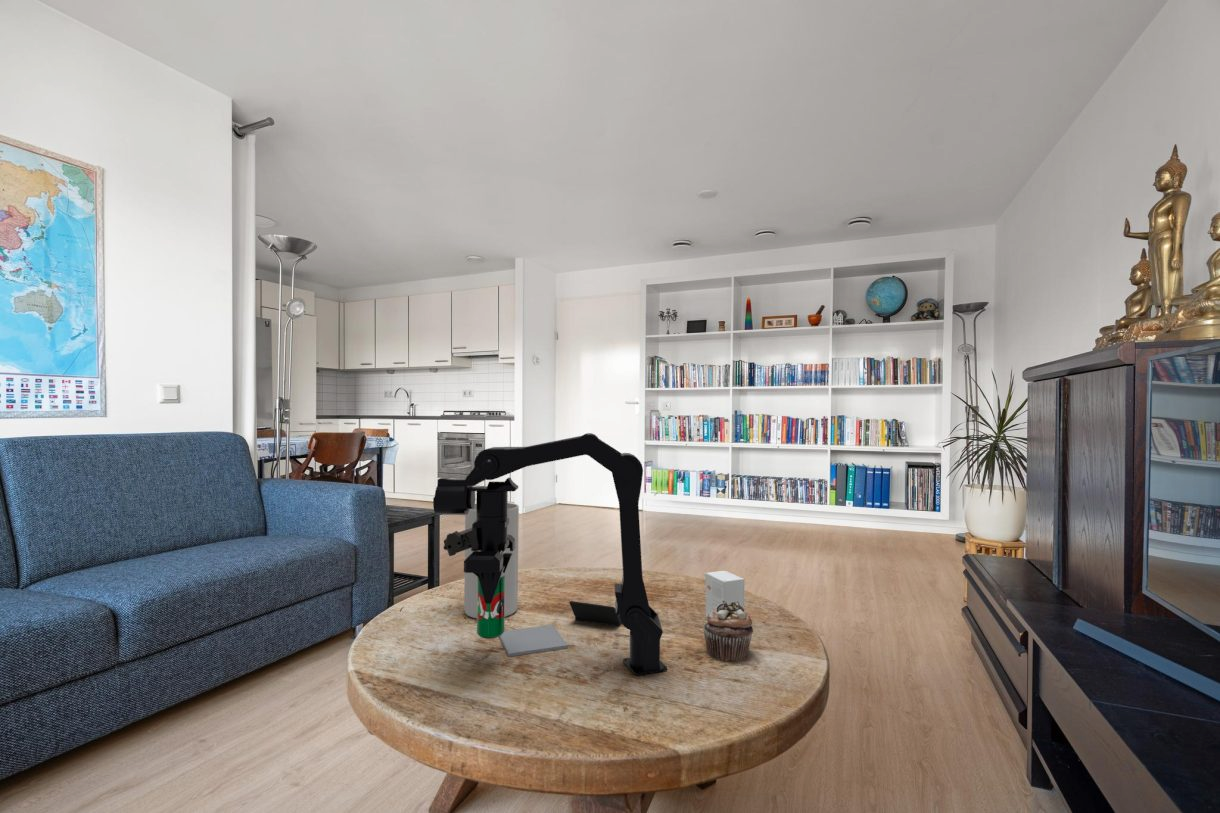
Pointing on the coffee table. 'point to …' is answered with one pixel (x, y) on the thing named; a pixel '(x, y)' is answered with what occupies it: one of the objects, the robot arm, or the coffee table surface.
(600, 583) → the coffee table surface
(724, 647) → the cupcake
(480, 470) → the robot arm
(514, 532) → the cylinder vase
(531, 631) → the slate mat
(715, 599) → the small box
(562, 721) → the coffee table surface
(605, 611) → the handheld gaming console
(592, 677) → the coffee table surface
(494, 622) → the soda can
